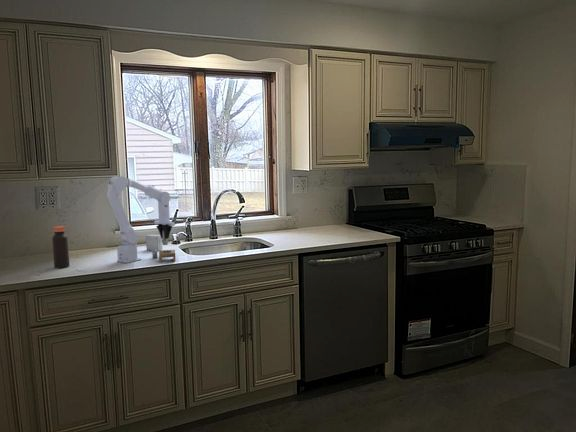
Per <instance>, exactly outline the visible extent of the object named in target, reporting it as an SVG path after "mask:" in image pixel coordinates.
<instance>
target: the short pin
mask: <svg viewBox="0 0 576 432" xmlns="http://www.w3.org/2000/svg"><path fill="white" fill-rule="evenodd" d="M151 253H152V254H151V255H152V259H155V260H156V259H158V258H159V254H158V251H157V250H151Z"/></svg>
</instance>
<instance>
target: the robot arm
mask: <svg viewBox="0 0 576 432" xmlns="http://www.w3.org/2000/svg"><path fill="white" fill-rule="evenodd" d="M155 186H156V185H153V184H151V185H149V184H148V185H144V184H142V183H140V182H138V181H137V180H134V179H132V178H129V177H125V176H123V175H122V176H118V175H114V176H113V175H112V176H111V177H110V179H109V180H108V182H107V192H106V195H107V200H108V202H109V205H110V206H111V209H112V211H113V214H114V216H115V219H116V221H117V224H118V227H119V233H120V235H119V237H120V239H121V241H122V242H121V243H122V244H121V245H118V247H117V249H116V250H117V260H116V261H117V262H119V263H123V264H128V263H133V262H136V261H141V260H142V258H140V257H139V258H138V241H139V234H138V233H137V232H136V231H135V229H134V228H133V226H132V225H131V223H130V220H129V219H128V216H127V213H126V211H125V208H124V206H123V203H122V201H121V199H120V198H121V197H120V195H121V193H122V192H123V191H124V190H125V189H126V188H133V189H136V190H138V191H140V192H143V193H144V195H145V196H147V197H150V198H152V199H154V200H156V201H157V211H158V219H157V220H154V222H153V223H154V225H156V229H157V230H158V232H159V235H160V236H161V238H162V230H164V237H165V239H167V240H168V239H169V238H170V234H171V231H172V228H173V227H175V225H176V224H175V222H173V221H171V219H170V201H171V198H172V197H171V195H170V193H169V192H168V191H165V190H163V189H162V188H157V187H155ZM162 239H163V238H162Z"/></svg>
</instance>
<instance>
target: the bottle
mask: <svg viewBox="0 0 576 432" xmlns="http://www.w3.org/2000/svg"><path fill="white" fill-rule="evenodd" d="M65 229H66V226H65V225H63V226H62V225H59V226H53V233H54V235H53V236H52V237H51V241H52V254H53V267H54V269H64V268H65V269H66V268H69V267H70V256H69V239H68V236H67V234H65V231H66V230H65Z"/></svg>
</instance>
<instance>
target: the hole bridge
mask: <svg viewBox="0 0 576 432" xmlns="http://www.w3.org/2000/svg"><path fill="white" fill-rule="evenodd" d="M158 258H159V260H158V261H159V262H161V263H162V261H163V260H162V259H163V258H173V262H174V261H176V249H164V250H163V249H162V250H159V252H158Z"/></svg>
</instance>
